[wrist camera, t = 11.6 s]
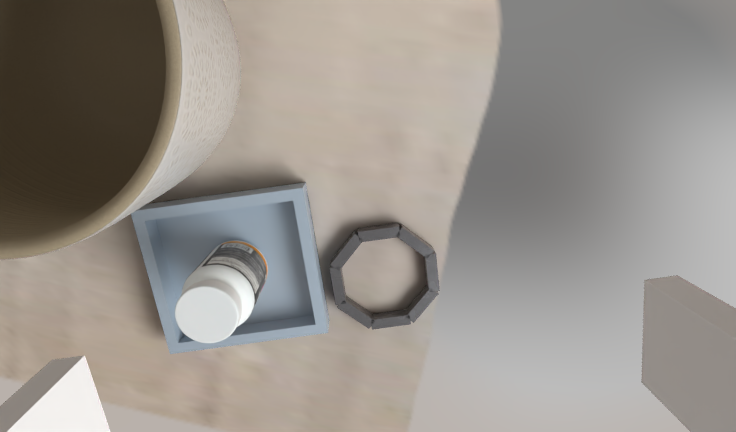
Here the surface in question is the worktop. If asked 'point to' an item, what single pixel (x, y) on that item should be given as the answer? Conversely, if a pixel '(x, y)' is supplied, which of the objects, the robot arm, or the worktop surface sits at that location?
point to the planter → (105, 110)
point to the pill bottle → (221, 292)
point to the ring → (395, 316)
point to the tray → (244, 223)
